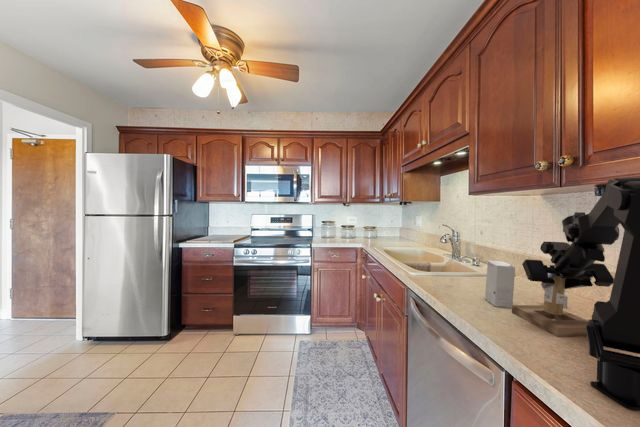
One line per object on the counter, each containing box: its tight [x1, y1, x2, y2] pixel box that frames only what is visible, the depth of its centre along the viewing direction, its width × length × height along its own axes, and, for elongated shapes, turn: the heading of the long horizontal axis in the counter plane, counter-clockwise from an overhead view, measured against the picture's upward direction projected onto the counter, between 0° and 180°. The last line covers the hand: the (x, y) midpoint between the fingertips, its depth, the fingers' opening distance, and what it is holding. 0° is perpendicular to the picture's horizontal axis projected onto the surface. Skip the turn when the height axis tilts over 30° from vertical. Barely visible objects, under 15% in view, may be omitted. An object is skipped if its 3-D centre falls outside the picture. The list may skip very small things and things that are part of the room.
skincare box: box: [484, 259, 516, 309], centre depth 93 cm, size 8×6×15 cm
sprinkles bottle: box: [543, 276, 566, 315], centre depth 76 cm, size 5×5×13 cm
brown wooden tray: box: [511, 304, 589, 338], centre depth 77 cm, size 16×13×2 cm
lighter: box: [540, 282, 569, 310], centre depth 91 cm, size 7×2×8 cm, turn 65°
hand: (552, 287), depth 78 cm, fingers closed on sprinkles bottle, 4 cm apart
